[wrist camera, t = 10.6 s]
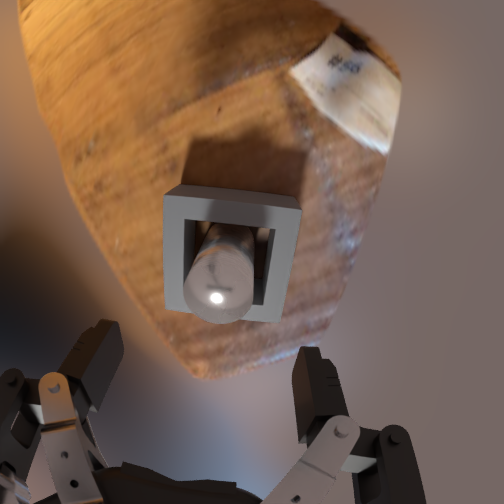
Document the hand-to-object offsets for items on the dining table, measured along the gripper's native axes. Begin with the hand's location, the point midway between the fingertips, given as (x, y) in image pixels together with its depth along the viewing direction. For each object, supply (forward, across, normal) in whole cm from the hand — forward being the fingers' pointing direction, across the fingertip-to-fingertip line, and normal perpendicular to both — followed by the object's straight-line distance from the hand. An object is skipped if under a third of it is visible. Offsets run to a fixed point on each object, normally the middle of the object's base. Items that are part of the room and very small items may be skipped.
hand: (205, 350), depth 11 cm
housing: (+13, 0, 0) cm, 13 cm away
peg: (+13, 0, 0) cm, 13 cm away
